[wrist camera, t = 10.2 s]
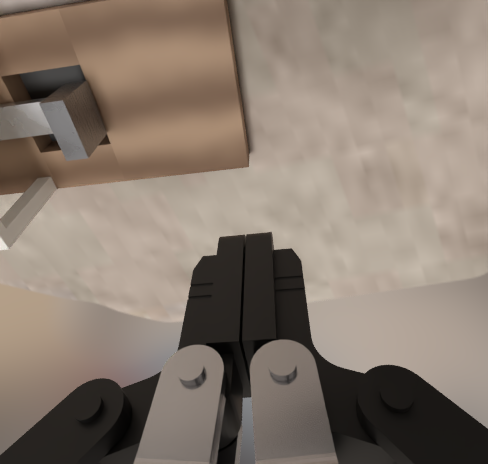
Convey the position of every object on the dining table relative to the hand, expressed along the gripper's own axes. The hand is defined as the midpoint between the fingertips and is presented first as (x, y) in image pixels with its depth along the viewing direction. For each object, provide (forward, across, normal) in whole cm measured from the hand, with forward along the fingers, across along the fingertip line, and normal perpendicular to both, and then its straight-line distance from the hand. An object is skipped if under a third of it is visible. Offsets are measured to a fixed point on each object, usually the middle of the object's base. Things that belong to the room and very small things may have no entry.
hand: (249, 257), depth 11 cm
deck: (+29, +22, +3) cm, 37 cm away
